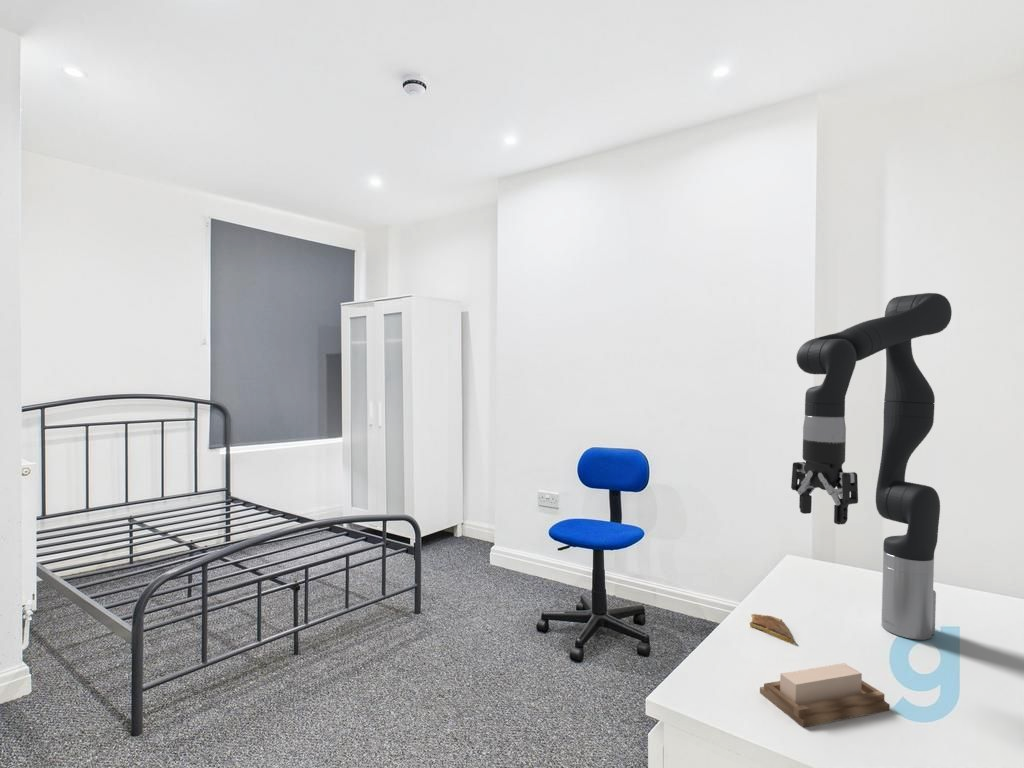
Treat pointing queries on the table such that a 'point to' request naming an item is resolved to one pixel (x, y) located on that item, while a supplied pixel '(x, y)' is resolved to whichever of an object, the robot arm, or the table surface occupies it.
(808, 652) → the table surface
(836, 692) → the beige rectangular block
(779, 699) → the brown wooden tray
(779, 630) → the shard
